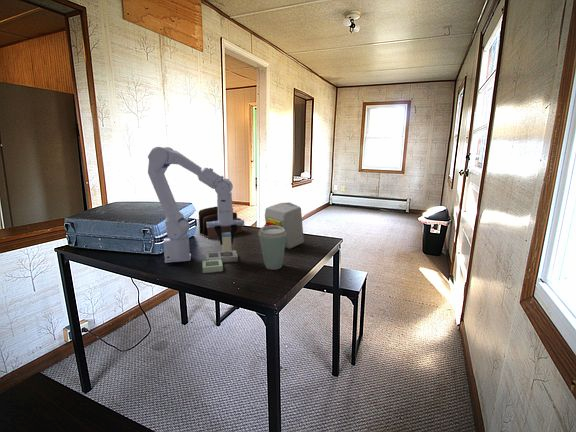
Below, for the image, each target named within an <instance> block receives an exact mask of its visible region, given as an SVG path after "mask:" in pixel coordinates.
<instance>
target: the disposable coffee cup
mask: <svg viewBox="0 0 576 432" xmlns="http://www.w3.org/2000/svg"><path fill="white" fill-rule="evenodd" d="M286 235H287V232H286V231H285V229H284V228H283V227H280V226H275V225H271V226H264V225H263V226H262V227H261V228H259V231H258V234H257V236H259V242H260V247H261V253H262V259H263V263H264V267H265V268H266V269H268V270H278V269H281V268H282V266H283V264H284V256H285V249H286V248H285V242H286Z"/></svg>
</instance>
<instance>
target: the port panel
mask: <svg viewBox="0 0 576 432" xmlns="http://www.w3.org/2000/svg"><path fill="white" fill-rule="evenodd" d="M231 250H232V249H231ZM205 259H206V260H205V261H208V260H219V259H221V260H222V264H223V263H224V264H225V263H233V262H235V263H236V262H239V256H238V253H237V250H236V249H235V250H234V249H233V250H232V252H223V251H222V250H221V251H211V252H205Z"/></svg>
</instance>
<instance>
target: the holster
mask: <svg viewBox="0 0 576 432" xmlns="http://www.w3.org/2000/svg"><path fill="white" fill-rule="evenodd" d="M201 261H202V273H203V274H205V273H206V274H207V273H217V272H218V273H219V272H223V271H224V266H223V263H222V260H221V259H219V260H208V261H206V260H201Z"/></svg>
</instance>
